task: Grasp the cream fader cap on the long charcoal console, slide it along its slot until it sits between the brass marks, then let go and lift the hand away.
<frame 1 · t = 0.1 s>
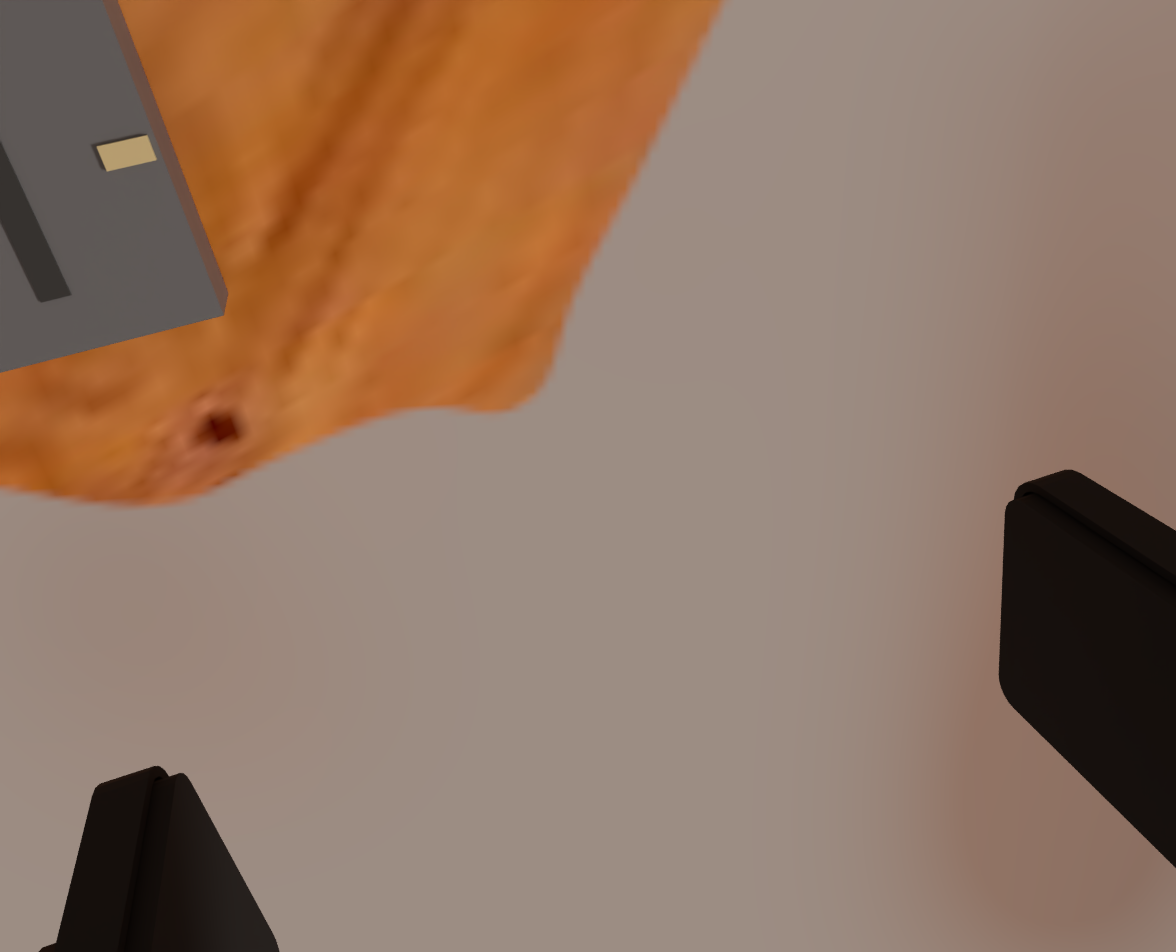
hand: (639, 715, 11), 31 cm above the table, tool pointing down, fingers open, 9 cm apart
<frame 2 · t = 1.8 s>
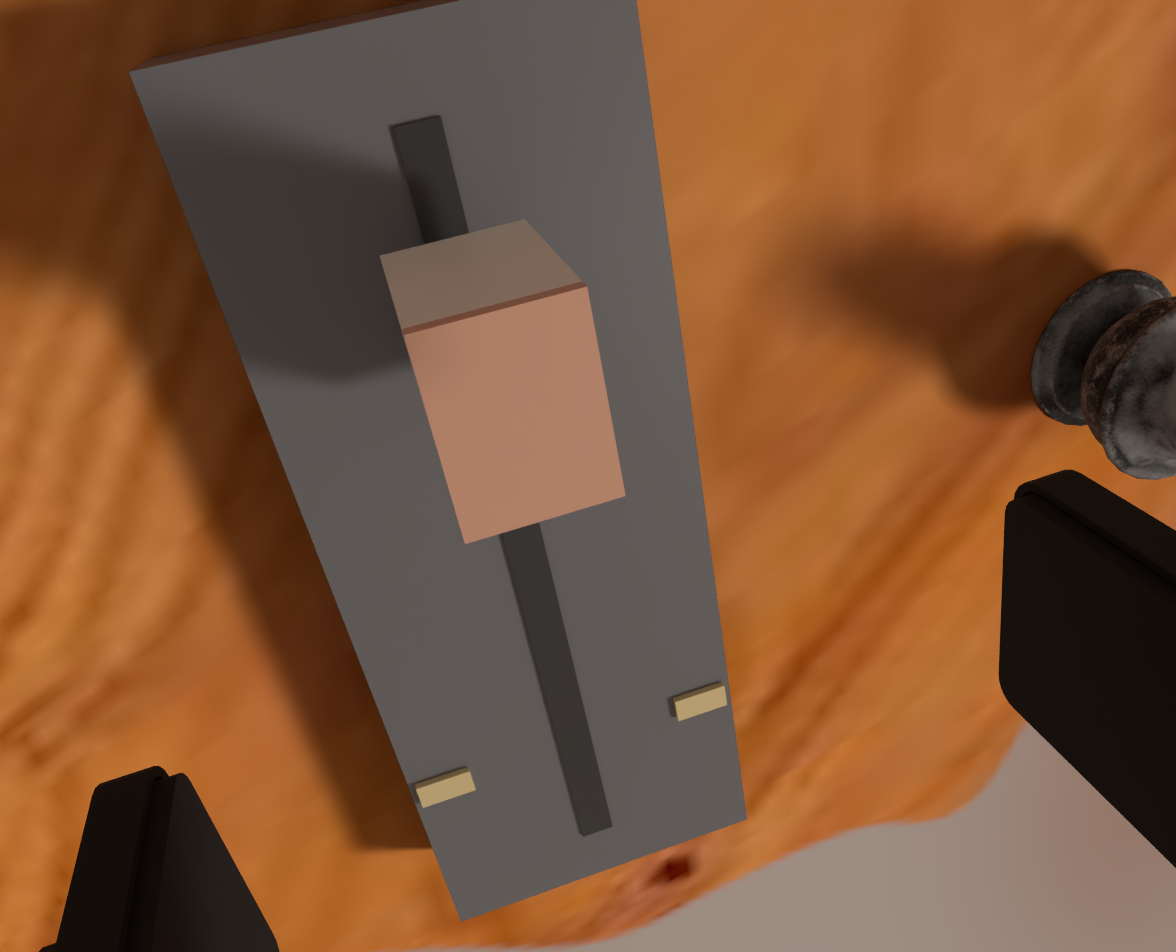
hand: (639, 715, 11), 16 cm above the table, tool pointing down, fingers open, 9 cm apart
fader: (490, 356, 19), point 6 cm above the table, slide at -7.0 cm
dark chess piece: (1098, 347, 31), on the table
console: (505, 499, 28), on the table
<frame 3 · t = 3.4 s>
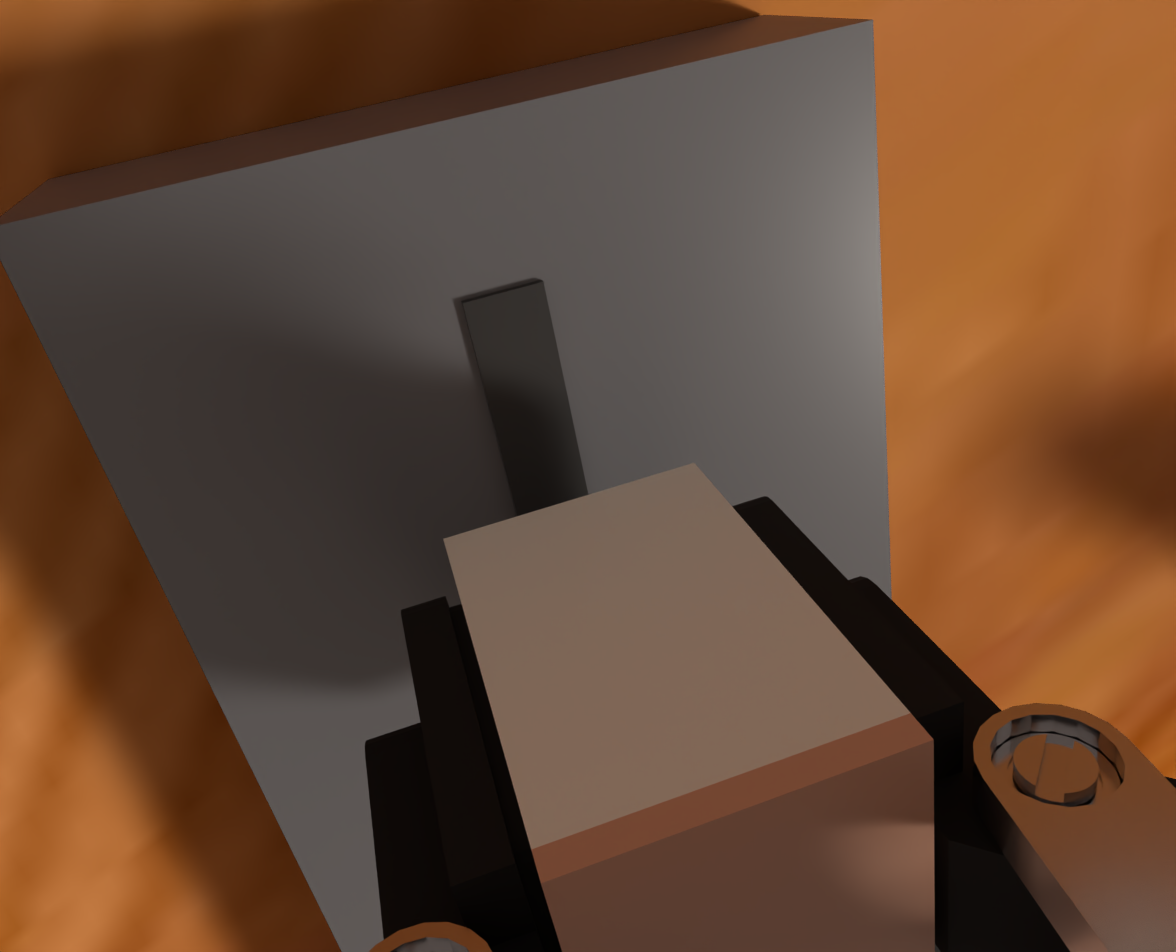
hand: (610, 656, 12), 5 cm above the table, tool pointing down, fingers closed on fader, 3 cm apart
fader: (644, 723, 10), point 6 cm above the table, slide at -7.0 cm, touching gripper
console: (594, 767, 19), on the table
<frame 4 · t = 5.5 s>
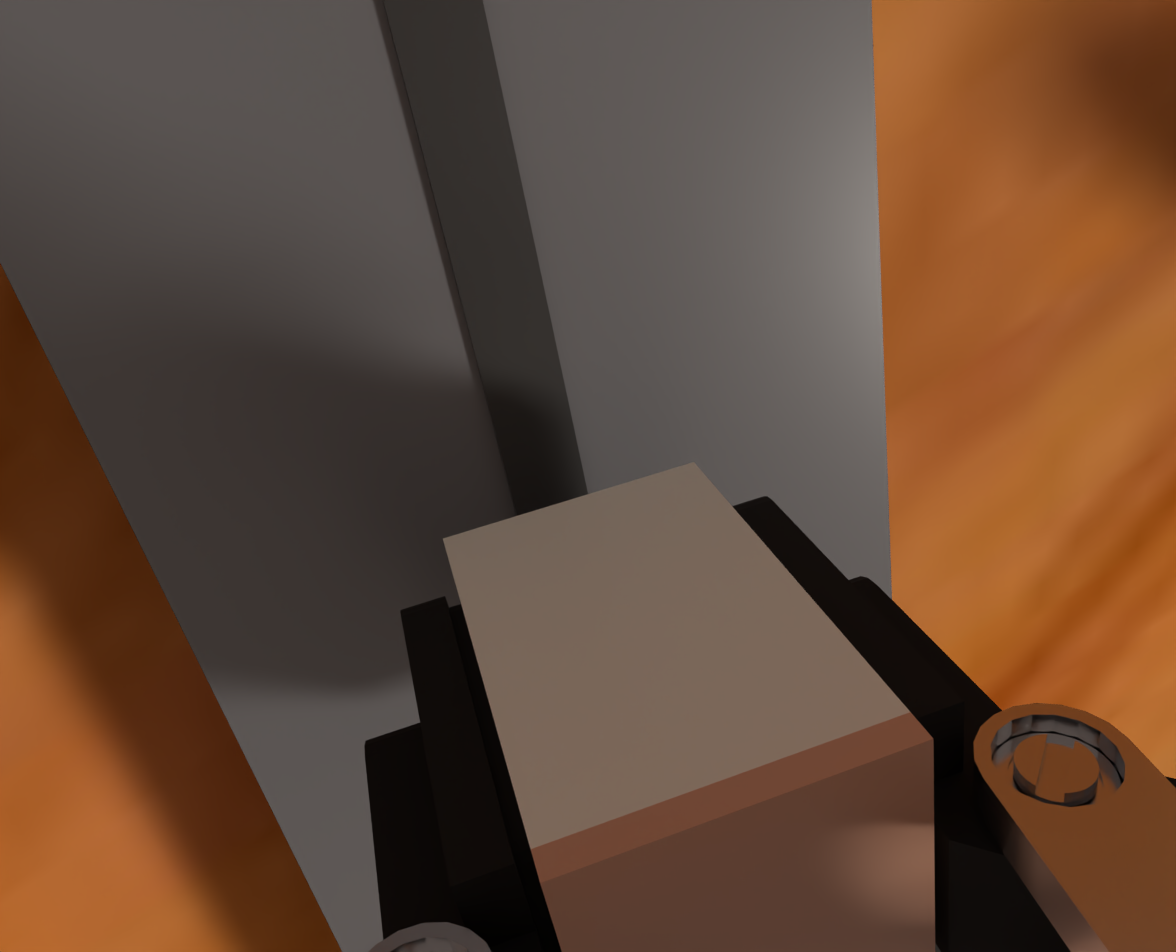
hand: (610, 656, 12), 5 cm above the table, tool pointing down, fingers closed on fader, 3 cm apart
fader: (644, 723, 10), point 6 cm above the table, slide at 0.2 cm, touching gripper
console: (517, 458, 16), on the table
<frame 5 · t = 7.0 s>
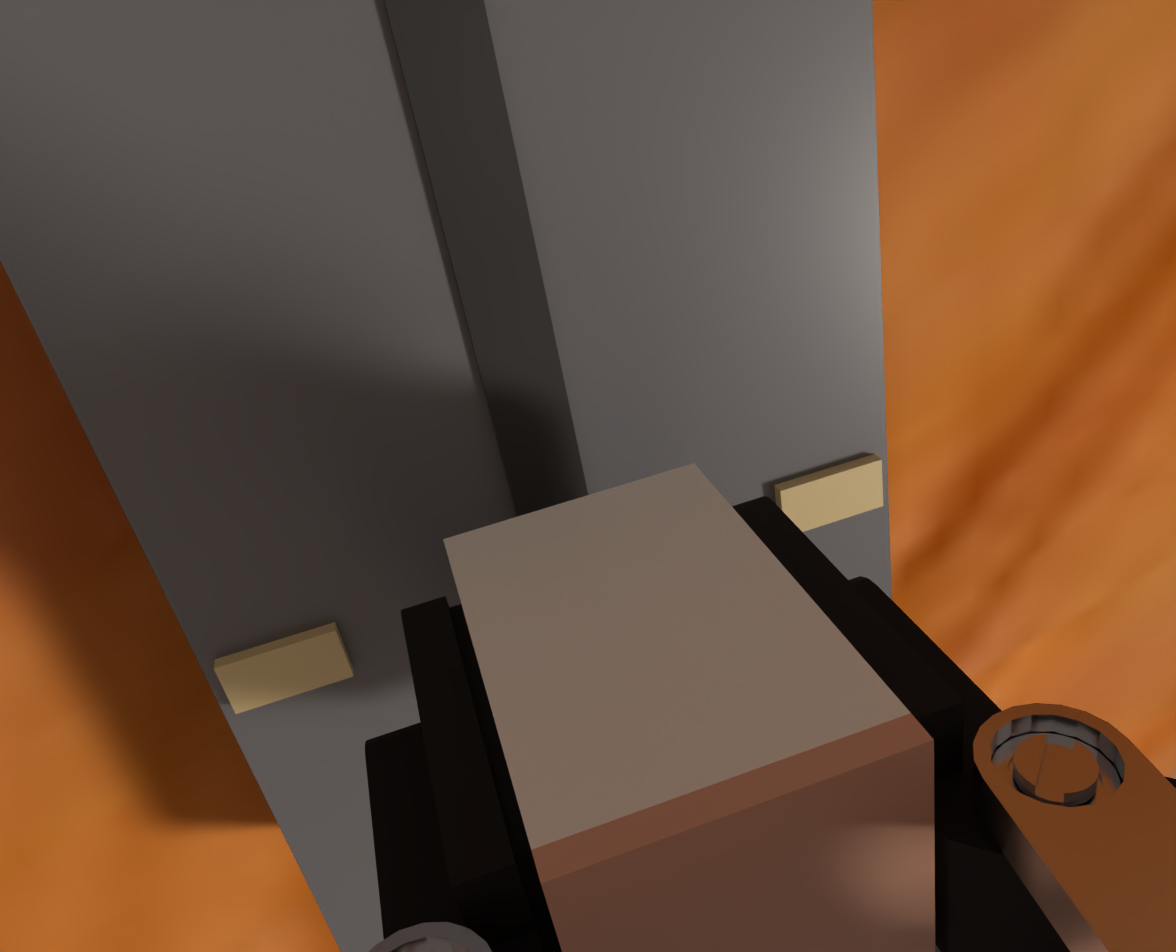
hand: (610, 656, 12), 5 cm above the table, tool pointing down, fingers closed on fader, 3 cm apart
fader: (644, 724, 10), point 6 cm above the table, slide at 6.8 cm, touching gripper
console: (411, 29, 13), on the table
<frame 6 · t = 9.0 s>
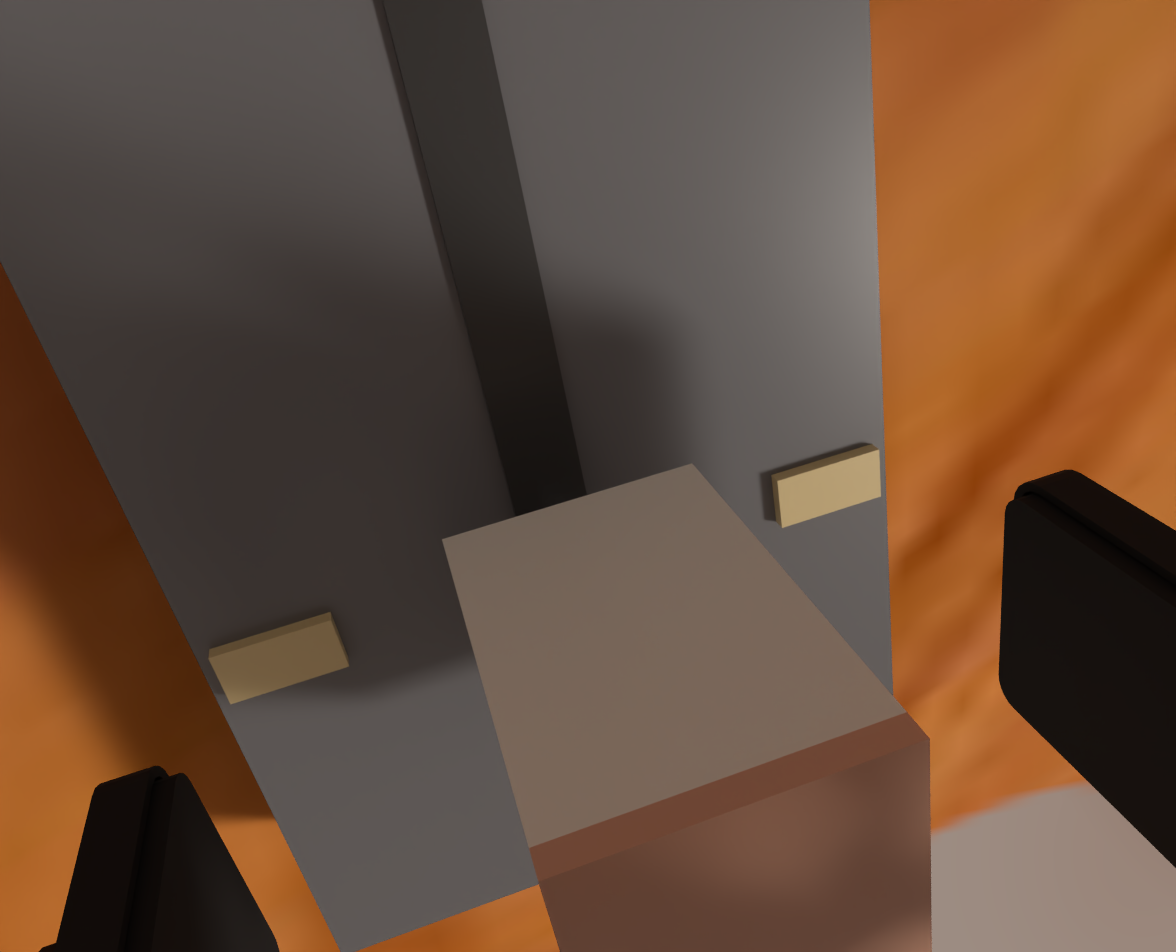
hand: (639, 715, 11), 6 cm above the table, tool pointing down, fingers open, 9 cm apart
fader: (642, 723, 10), point 6 cm above the table, slide at 7.0 cm
console: (406, 17, 13), on the table
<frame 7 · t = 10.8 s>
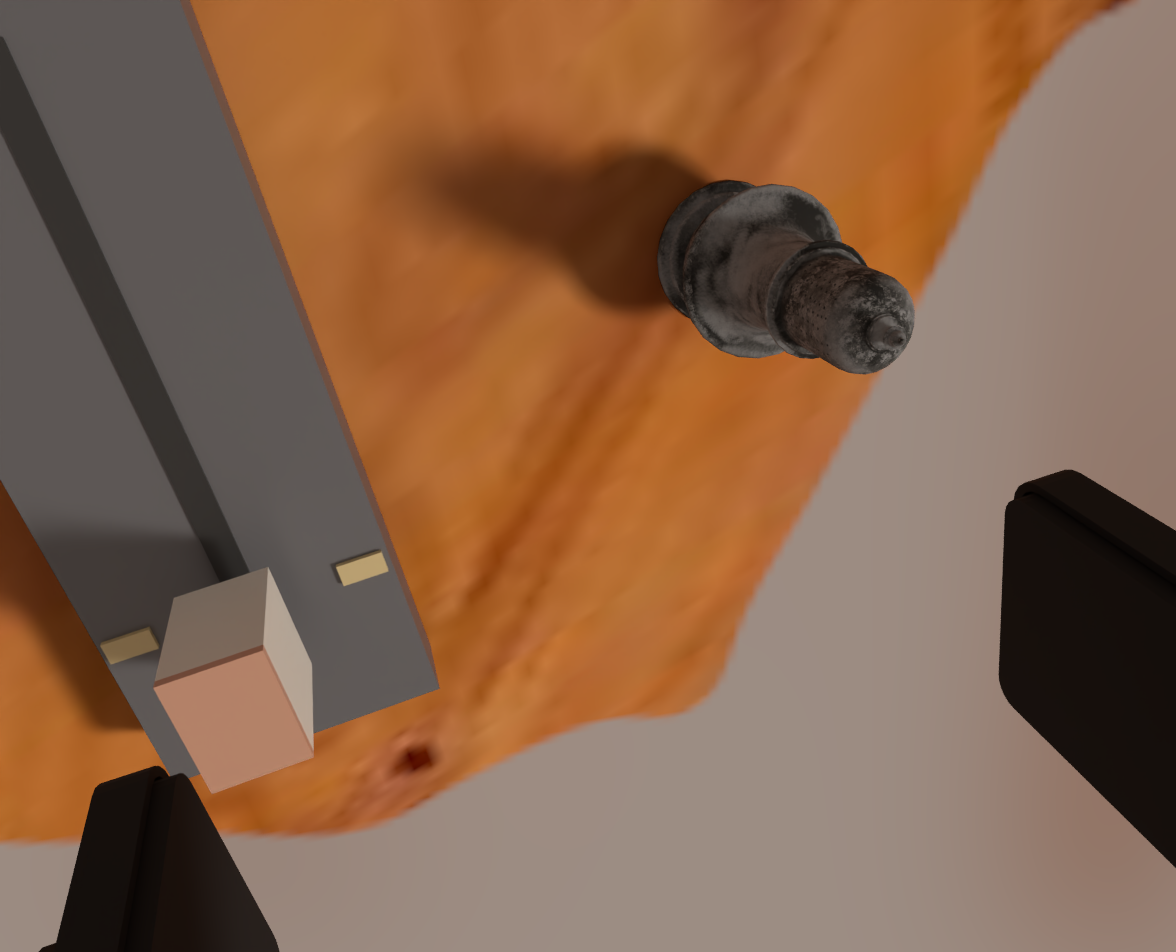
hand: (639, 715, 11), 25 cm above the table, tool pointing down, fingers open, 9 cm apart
fader: (242, 660, 30), point 6 cm above the table, slide at 7.0 cm
dark chess piece: (722, 253, 36), on the table
console: (173, 391, 32), on the table
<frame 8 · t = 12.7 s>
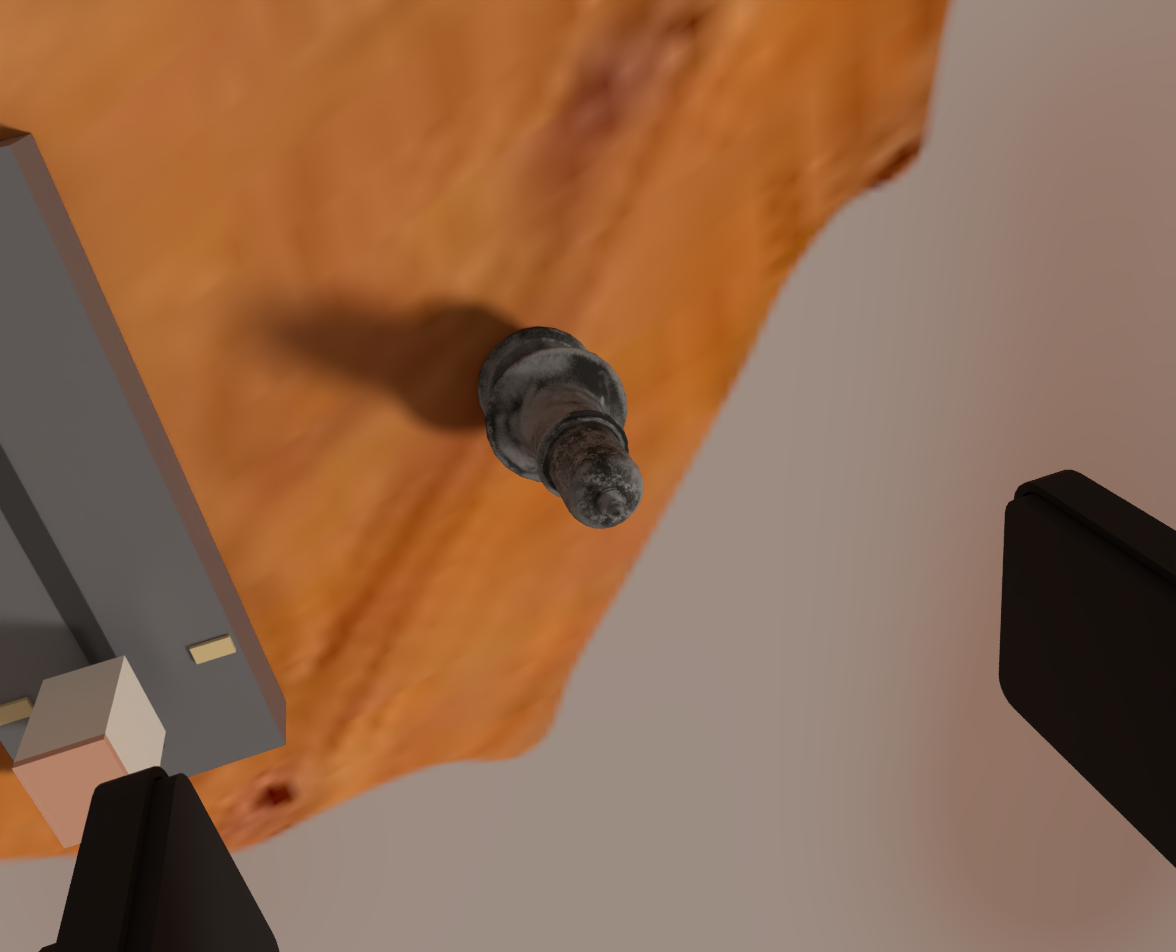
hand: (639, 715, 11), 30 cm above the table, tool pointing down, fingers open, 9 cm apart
fader: (99, 734, 36), point 6 cm above the table, slide at 7.0 cm
dark chess piece: (536, 384, 42), on the table
console: (51, 499, 38), on the table
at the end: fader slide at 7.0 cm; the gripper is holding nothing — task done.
